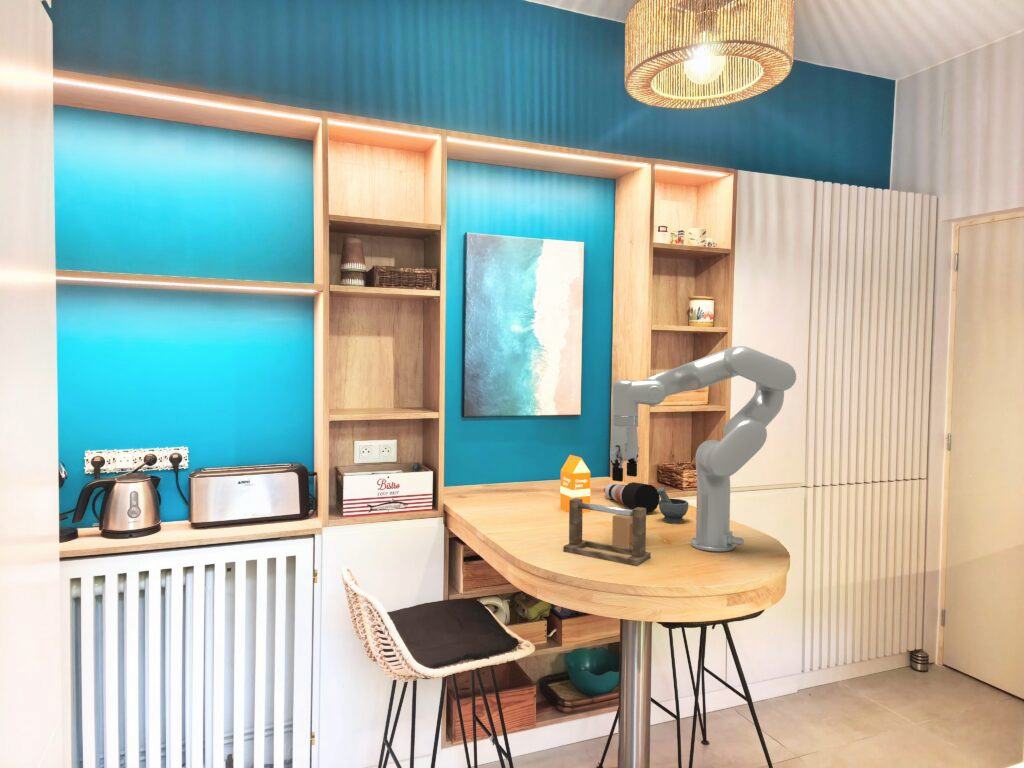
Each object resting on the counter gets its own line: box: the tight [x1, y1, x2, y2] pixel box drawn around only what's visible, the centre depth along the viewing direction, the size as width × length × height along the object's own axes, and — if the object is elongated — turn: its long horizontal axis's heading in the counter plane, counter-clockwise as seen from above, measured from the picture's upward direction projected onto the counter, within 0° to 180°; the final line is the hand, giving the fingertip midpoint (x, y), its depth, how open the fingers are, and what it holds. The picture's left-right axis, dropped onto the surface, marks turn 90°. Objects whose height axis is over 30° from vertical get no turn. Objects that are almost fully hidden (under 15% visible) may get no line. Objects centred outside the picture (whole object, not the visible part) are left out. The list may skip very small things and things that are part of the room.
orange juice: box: [560, 454, 591, 514], centre depth 240 cm, size 8×9×20 cm
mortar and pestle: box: [657, 486, 689, 525], centre depth 224 cm, size 11×9×12 cm
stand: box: [562, 498, 652, 567], centre depth 186 cm, size 23×9×14 cm, turn 55°
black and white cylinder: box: [603, 481, 661, 514], centre depth 250 cm, size 10×34×10 cm, turn 17°
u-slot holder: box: [611, 514, 633, 549], centre depth 196 cm, size 5×6×9 cm
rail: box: [578, 502, 633, 517], centre depth 186 cm, size 21×2×2 cm, turn 55°
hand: (624, 478), depth 196 cm, fingers open, 9 cm apart
